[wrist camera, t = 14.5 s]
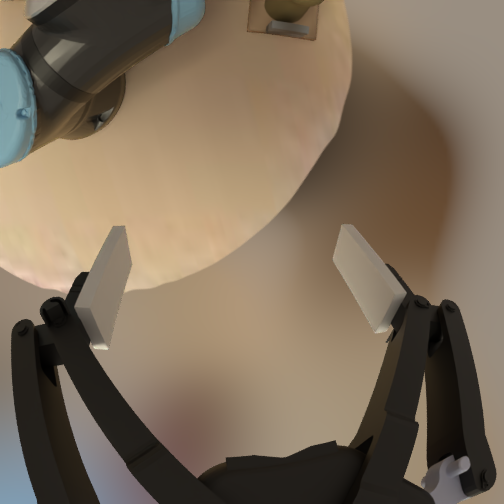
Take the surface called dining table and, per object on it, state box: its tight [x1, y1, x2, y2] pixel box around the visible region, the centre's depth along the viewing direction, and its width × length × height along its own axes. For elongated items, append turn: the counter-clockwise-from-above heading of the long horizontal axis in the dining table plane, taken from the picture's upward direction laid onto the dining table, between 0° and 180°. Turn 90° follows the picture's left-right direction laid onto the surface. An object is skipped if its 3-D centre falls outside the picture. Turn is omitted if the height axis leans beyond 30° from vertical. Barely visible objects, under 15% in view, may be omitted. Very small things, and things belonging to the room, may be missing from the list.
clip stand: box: [247, 0, 319, 41], centre depth 26 cm, size 10×10×5 cm
